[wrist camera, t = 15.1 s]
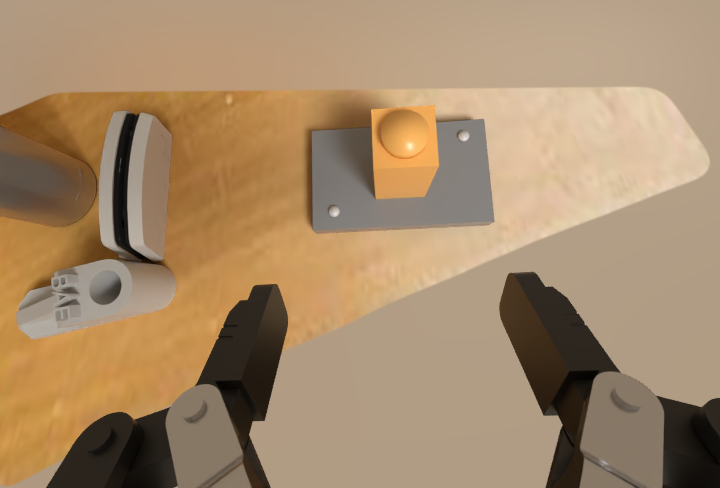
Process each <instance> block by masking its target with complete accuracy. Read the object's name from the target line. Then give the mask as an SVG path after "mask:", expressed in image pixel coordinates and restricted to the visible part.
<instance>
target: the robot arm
mask: <svg viewBox="0 0 720 488" xmlns="http://www.w3.org/2000/svg"><path fill="white" fill-rule="evenodd" d="M95 195H96V179H95V175H94V173H93V171H92V170H91V168H90V167H89V166H88V165H87V164H85V163H84V162H83V161H80V160H78V159H76V158H73V157H71V156H69V155H67V154H64V153H62V152H60V151H57V150H55V149H53V148H51V147H48V146H46V145H44V144H41V143H39V142H37V141H34V140H32V139H30V138H27V137H25V136H23V135H20V134H18V133H16V132H14V131H11V130H9V129H7V128H4V127H2V126H0V216H1V217H7V218H12V219H16V220H21V221H27V222H32V223H37V224H43V225H48V226H54V227H62V226H66V225H70V224H72V223H74V222H76V221H77V220H79V219H80V218H81V217H83V216H84V215H85V213H86V212H87V211H88V210H89V208H90V207H91V205H92V203H93V201H94V198H95ZM576 312H577V311H576V310H575V308H574V307H573V306H572V304H571V303H570V301H569V300H568V299H567V297H565V296H564V295H563V294H561V293H560V292H559V291H557V290H556V289H554V288H553V287H545V286H544V284H543V283H542V282H541V280H540V278H539V277H538V275H537V274H536V273H534V272H522V273H509V274H508V276H507V279H506V283H505V287H504V290H503V294H502V297H501V301H500V317H501V320H502V323H503V325H504V327H505V329H506V332H507V334H508V336H509V338H510V341H511V343H512V345H513V347H514V350H515V352H516V354H517V356H518V359H519V361H520V363H521V365H522V367H523V370H524V372H525V374H526V377H527V379H528V381H529V383H530V386H531V388H532V390H533V392H534V395H535V397H536V399H537V401H538V404H539V406H540V408H541V410H542V413H543V415H546V416H547V415H549V416H550V415H558V416H559V418H560V420H561V422H562V424H563V426H562V427H561V430H560V434H559V437H558V442H557V445H556V449H555V453H554V457H553V461H552V465H551V468H550V473H549V476H548V480H547V484H546V488H720V398H715V399H712V400H710V401H708V402H707V403H706V404H705V405H704V406H703V407H698V406H695V405H691V404H687V403H682V402H679V401H675V400H670V399H666V398H663V397H659V396H656V395H655V394H654V393H653V392H652V391H651V390H650V389H649V388H648V387H647V386H645V385H644V384H643V383H641V382H640V381H638V380H636V379H634V378H632V377H630V376H627V375H625V374H622V373H621V372H620V371H619V370H618V369H617V367H616V366H615V365H614V364H613V362H612V361H611V359H610V358H609V356H608V355H607V354H606V352H605V351H604V349H603V348H602V346H601V345H600V344H599V342H598V341H597V340H596V338H595V337H594V335H593V334H592V332H591V331H590V329H589V328H588V327H587V326H586V325H585V324H584V321H583V320H582V318H581V317H580V315H579V314H577V313H576ZM223 326H224V327H223V328H222V329H221V332H220V334H219V336H218V337H219V338H218V339H217V340H216V343H215V345H214V347H213V349H212V351H211V354H210V356H209V358H208V360H207V362H206V365H205V367H204V369H203V371H202V373H201V376H200V378H199V380H198V382H197V384H196V385H195V387H192V388H190V389H188V390H187V391H185V392H184V393H183V394H181V395H180V396H179V397H178V398H177V399H176V400H175V402H174V403H173V404H172V406H171V407H169V408H167V409H164V410H161V411H158V412H155V413H153V414H150V415H147V416H144V417H141V418H138V419H135V420H134V419H133V418H132V417H131V416H130V415H128V414H127V413H123V412H116V413H111V414H108V415H106V416H104V417H102V418H100V419H98V420H97V421H95V422H94V423H92V424H91V425H90V426H89V427H88V428H86V429H85V430H84V431H83V432H82V434H81V435H80V436H79V437H78V438H77V440H76V441H75V443H74V444H73V446H72V447H71V449H70V451H69V452H68V454H67V455H66V457H65V459H64V460H63V462H62V463H61V465H60V467H59V468H58V470H57V472H56V473H55V475H54V476H53V478H52V479H51V481H50V483H49V484H48V486H47V487H46V488H174V487H176V486H178V488H271V487H270V485H269V482H268V480H267V477H266V475H265V472H264V470H263V467H262V465H261V463H260V460H259V458H258V455H257V453H256V450H255V448H254V445H253V443H252V441H251V438H250V436H249V433H250V429H251V426H252V422H253V421H265V417H266V413H267V409H268V405H269V401H270V397H271V392H272V389H273V384H274V380H275V376H276V372H277V368H278V364H279V360H280V356H281V352H282V348H283V344H284V340H285V336H286V332H287V327H288V315H287V311H286V308H285V305H284V302H283V299H282V296H281V293H280V290H279V287H278V285H277V284H267V285H255V286H254V287H253V289H252V291H251V293H250V296H249V298H248V300H242V301H239V302H238V304H237V305H236V306H235V307H234V308H233V309H232V310H231V311H230V312H229V314H228V316H227V318H226V321H225V323H224V325H223Z"/></svg>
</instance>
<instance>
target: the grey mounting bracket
mask: <svg viewBox="0 0 720 488" xmlns="http://www.w3.org/2000/svg"><path fill="white" fill-rule="evenodd" d="M51 284H52V285H51V286H47V287H43V288H39V289H35V290H31V291H29V292H28V294H27V295H26V296H25V298H24V299H23V301H22V302H21V303H20V305H19V311H18V312H16V313H17V326H18V327H19V326H20V330H21V331H23V332H24V333H25V334H26V335H27V336H29V337H30V338H31V339H38V338H46V337H51V336H55V335H60V334H64V333H68V332H72V331H76V330H81V329H85V328H89V327H93V326H97V325H102V324H106V323H110V322H114V321H118V320H123V319H127V318H131V317H135V316H139V315H143V314H148V313H152V312H156V311H159V310H162V309H164V308H165V307H166V306H168V305H169V304H170V302H171V301H172V299H173V298H174V295H175V292H176V279H175V277H174V275H173V273H172V272H171V270H169V269H168V268H167V267H165V266H163V265H157V264H149V263H140V262H131V261H123V260H114V259H104V260H100V261H96V262H92V263H88V264H84V265H80V266H76V267H72V268H68V269H64V270H60V271H57V272H55V273H54V277H53V278H51Z"/></svg>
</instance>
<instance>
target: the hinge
mask: <svg viewBox="0 0 720 488" xmlns="http://www.w3.org/2000/svg"><path fill="white" fill-rule="evenodd" d="M171 149H172V135H171V133H170V132H169V131H168V130H167V129H166V128H165V127H164V125H163V124H162V123H161V122H160V121H159V120H158V119H157V117H156V116H154V115H150V114H147V113H144V112H141V113H140V114H137V115H135V114H132V113H131V112H130V111H115V112H114V113H113V115H112V118H111V121H110V123H109V127H108V130H107V133H106V138H105V143H104V147H103V153H102V159H101V168H100V180H99V222H100V235H101V241H102V243H103V245H104V246H106V247H107V248H109V249H111V250H113V251H115V252H116V253H118V254H119V258H120V259H124V260H133V261H139V262H141V259H144V258H145V257H146V258H148V259H150V260H152V261H153V262H155V261H160V260H164V253H165V238H166V223H167V208H168V193H169V179H170V164H171Z"/></svg>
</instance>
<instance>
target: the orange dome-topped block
mask: <svg viewBox="0 0 720 488" xmlns="http://www.w3.org/2000/svg"><path fill="white" fill-rule="evenodd" d="M371 119H372V145H373V170H374V184H375V197H376V199H391V198H411V197H425V195H426V193H427V191H428V189H429V187H430V185H431V182H432V180H433V178H434V176H435V174H436V171H437V169H438V167H439V157H438V143H437V129H436V115H435V105H429V106H414V107H400V108H385V109H371Z"/></svg>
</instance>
